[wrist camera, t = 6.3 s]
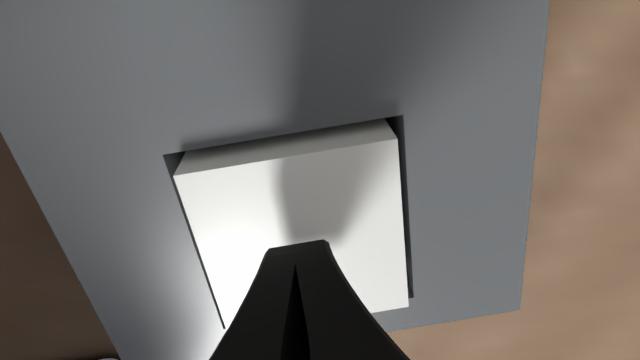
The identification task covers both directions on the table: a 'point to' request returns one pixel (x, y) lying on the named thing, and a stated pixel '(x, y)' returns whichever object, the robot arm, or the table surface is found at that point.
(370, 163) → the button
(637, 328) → the table surface
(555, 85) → the table surface
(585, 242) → the table surface
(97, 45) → the button housing
